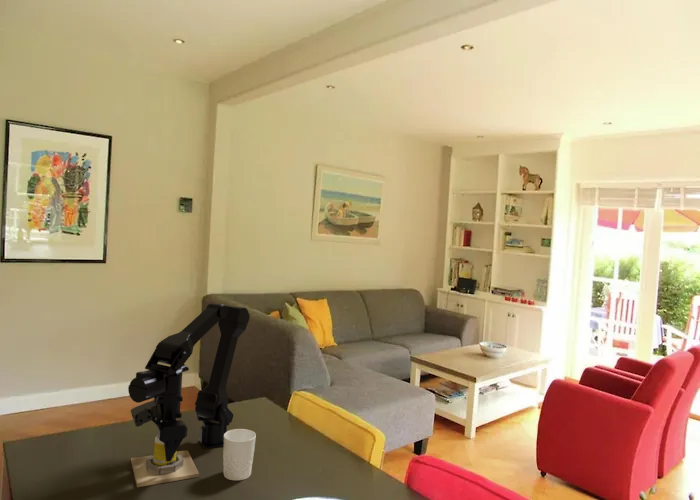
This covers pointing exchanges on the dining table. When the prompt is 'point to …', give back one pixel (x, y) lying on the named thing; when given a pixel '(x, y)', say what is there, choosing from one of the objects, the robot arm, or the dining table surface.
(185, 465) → the board
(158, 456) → the supplement bottle
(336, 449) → the dining table surface
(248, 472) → the white cup
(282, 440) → the dining table surface
